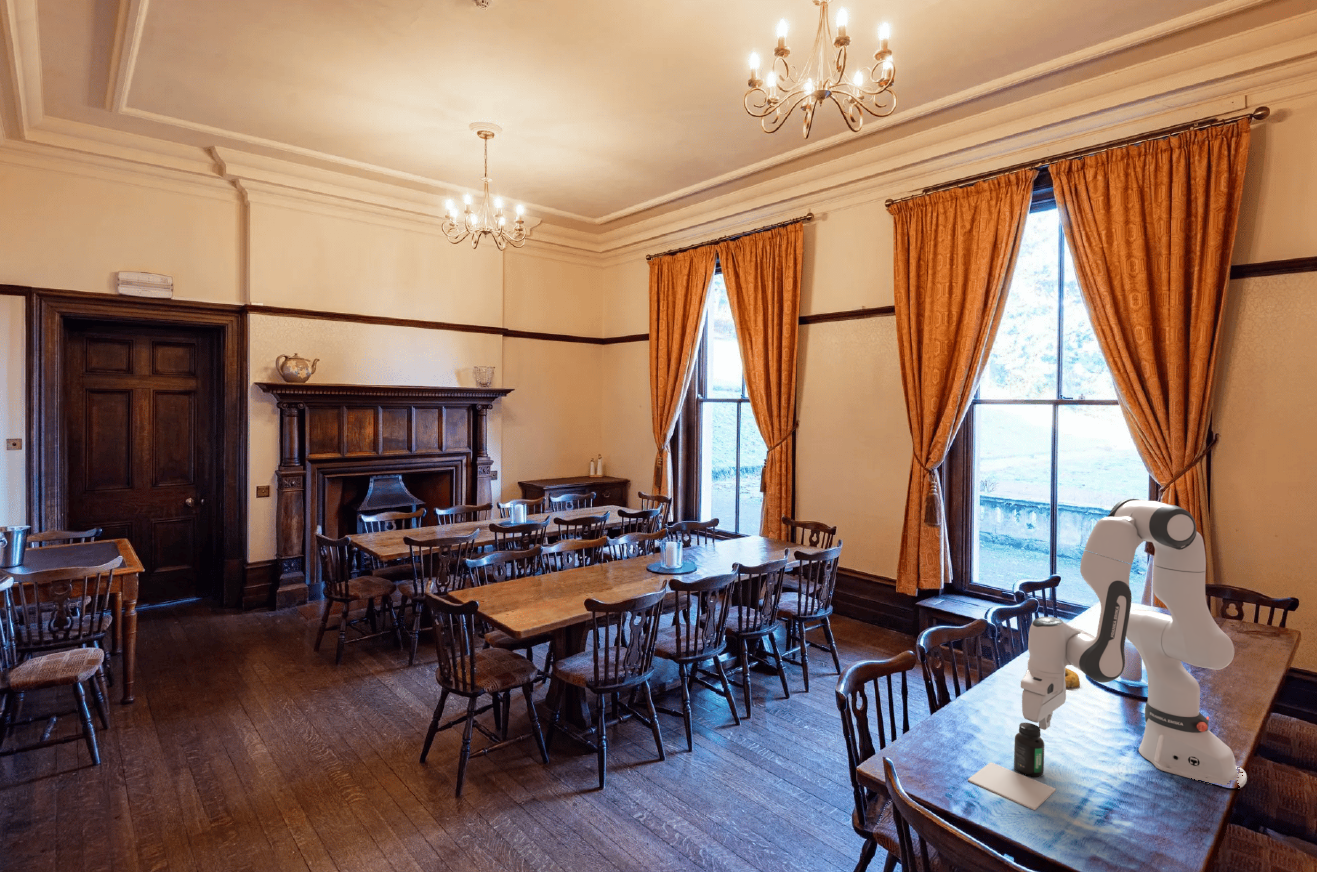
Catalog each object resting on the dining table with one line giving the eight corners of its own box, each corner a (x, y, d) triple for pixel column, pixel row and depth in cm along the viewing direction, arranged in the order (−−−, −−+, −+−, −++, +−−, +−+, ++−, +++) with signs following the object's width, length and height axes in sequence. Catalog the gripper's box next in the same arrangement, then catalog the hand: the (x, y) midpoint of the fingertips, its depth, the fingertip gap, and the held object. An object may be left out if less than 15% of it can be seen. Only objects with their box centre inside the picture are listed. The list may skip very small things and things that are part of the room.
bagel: (1042, 683, 229) (1043, 669, 229) (1051, 674, 237) (1052, 661, 237) (1075, 692, 222) (1076, 678, 222) (1083, 683, 230) (1084, 669, 230)
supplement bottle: (1045, 780, 169) (1047, 734, 168) (1015, 775, 171) (1017, 730, 171) (1041, 767, 175) (1042, 723, 175) (1012, 762, 178) (1013, 718, 177)
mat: (1056, 790, 164) (1056, 788, 164) (1034, 810, 156) (1034, 808, 156) (990, 763, 177) (990, 761, 177) (967, 780, 169) (967, 779, 169)
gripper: (1048, 664, 187) (1047, 712, 188) (1017, 683, 175) (1016, 734, 175) (1073, 671, 183) (1071, 720, 183) (1043, 691, 170) (1042, 743, 170)
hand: (1044, 727), depth 179 cm, fingers closed
